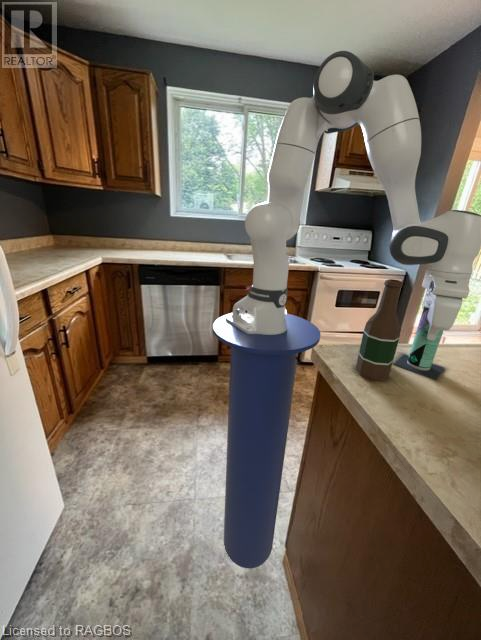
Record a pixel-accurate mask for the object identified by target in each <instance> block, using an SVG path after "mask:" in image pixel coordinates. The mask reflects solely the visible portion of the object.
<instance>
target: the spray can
mask: <svg viewBox="0 0 481 640" xmlns="http://www.w3.org/2000/svg"><path fill="white" fill-rule="evenodd" d="M431 303H432V300H430V301H426V304H425V305H424V309H423V308H422V312H421V316H420V319H419V322H418V325H417V328H416V331H415V335H414V338H413V341H412V344H411V348H410V351H409V354H408V356H409V357H408V360H407V364H408V365H410V366H411V367H413V368H415V369H419V370H424V371H427V370H430V368H431V365H432V364H433V362H434V359H435V357H436V353H437V351H438V348H439V346H440V345H439V344H440V342H441V339H442V336H443V333H444V331H445V330H440V331H439V333H438V334H437V336H436V339H435V340H434V341H432V340H428V339H427V337H426V335H427V332H428V331H429V328H430V323H429V321H428V319H427V315H428V312H429V309H430V305H431Z"/></svg>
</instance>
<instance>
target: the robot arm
mask: <svg viewBox="0 0 481 640" xmlns="http://www.w3.org/2000/svg"><path fill="white" fill-rule="evenodd" d="M312 87H313V88H312V94H313V96H311V97H299V98H296V99H294V100H292V101H290V103H289V105H288V106H287V109H286V110H285V113H284V116H283V118H282V121H281V123H280V127H279V129H278V132H277V136H276V139H275V144H274V147H273V151H272V156H271V159H270V163H269V168H268V172H267V183H268V197H267V201H264V202H261V203H258V204H255V205H253V206H252V207H251V208H250V209H249V210H248V211H247V213H246V215H245V218H244V228H245V231H246V234H247V235H248V237H249V240H250V245H251V251H252V258H253V269H252V271H253V272H252V284H251V285H248V286H247V287H246V289H245V291H248V292H247V295H246V296H243V298H241V299H240V300H238V301H237V302H235V303H234V305H233V307H232V312H231V313H232V314H230V315H228V316H227V317H226V319H225V320H226V321H228V322H229V323H231V324H232V325H234V326H235V327H237V328H239V329H240V330H242V331H243V332H245V333H247V334H263V335H276V334H281V333H284V332H285V331H286V330H287V325H286V317H285V314H288V312H287V309H286V304H287V300H288V291H289V290H288V289H289V288H288V279H289V278H288V277H289V268H290V262H289V259H288V253H287V252H288V251H287V241H289V240H290V239H292V238H293V237H294V236H296V234H297V233H298V231H299V230H300V226H301V216H302V210H303V203H304V196H305V190H306V186H307V182H308V179H309V175H310V171H311V168H312V165H313V162H314V159H315V155H316V152H317V150H318V149H317V148H318V144H319V142H320V139H321V137H322V135H323V134H326V135H328V134H333V133H341V132H347V131H349V130H352V129H354V128H355V127H357V126H358V125H359V126H360V127H361V131H362V133H363V139H364V144H365V150H366V153H367V157H368V160H369V163H370V165H371V168H372V170H373V172H374V174H375V176H376V178H377V180H378V181H379V184H381V186H382V188H383V190H384V192H385V195H386V199H387V201H388V202H387V203H388V207H389V212H390V217H391V224H392V231H391V232H392V233H391V236H390V239H389V244H388V248H389V252H390V255H391V258H392V259H393V260H394V261H395V262H397V263H398V264H400V265H403V266H409V267H410V266H418V265H419V266H420V265H427V266H426V269H425V273H424V276H423V279H422V283H421V287H422V288H424V289H425V290H426V291H425V294H424V297H423V301H422V304H421V307H422V310H423V309H424V305H425V304H426V301H430V300H432V303H431V305H430V309H429V312H428V315H427V319H428V321H429V323H430V328H429V331H428V332H427V335H426V337H427V339H428V340H432V341H434V340H435V339H436V336H437V334H438V333H439V331H440V330H444V331H447V332H448V331H450V330H451V329H452V327H453V326H454V324H455V322H456V320H457V317H458V315H459V312H460V310H461V308H462V306H463V305H462V304H463V300H465V299H468V297H469V294H470V286H469V285H470V279H471V277H472V274H473V266H474V262H475V259H476V258H477V257H478V255H479V253H480V252H481V251H480V250H481V214H479V213H477V212H473V211H468V210H459V209H450V210H447V211H445V212H444V213H442V214H440V215H438V216H436V217H433V218H431V219H427V220H424V221H422V220H421V218H420V212H419V206H418V205H419V204H418V200H417V194H416V178H417V171H418V167H419V163H420V159H421V155H422V126H421V122H420V115H419V110H418V106H417V103H416V99H415V96H414V93H413V91H412V88H411V86H410V83H409V81H408V79H407V78H406V77H405V76H403V75H401V74H390V75H388V76H385V77H382V78H381V79H379V80H375V73H374V71H373V69H371V68H370V67H369V66H368V65H367V64H365V62H363V61H362V60H361V59H360V57H358V56H357V55H356V54H354V53H352V52H351V51H349V50H348V51H347V50H339V51H336V52H334V53H332V54H330V55H329V56H327V57H326V58H325V59H324V60H323V61H322V62H321V64H320V65H319V67H318V68H317V71H316V73H315V76H314V80H313V85H312Z"/></svg>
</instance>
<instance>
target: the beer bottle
mask: <svg viewBox="0 0 481 640" xmlns="http://www.w3.org/2000/svg"><path fill="white" fill-rule="evenodd" d="M383 284H384V288H383V291H382V295H381V298H380V301H379V305H378V307H377V310H376V312H375V313H373V314H372V315H371V316H370V317H369V319H368V320H367V321H366V323H365V326H364V329H363V332H362V336H361V337H362V338H361V341H360V346H359V351H358V355H357V359H356V364H355V365H356V366H355V370H356V371H357V372H358V374H359V376H360V377H361V376H362V377H364V378H366V379H368V380H371V381H380V382H381V381H384V380H386V379H387V378H388V377H389V376H390V373H391V370H392V366H393V364H394V363H393V362H394V359H395V355H396V351H397V348H398V344H399V341H400V336H401V331H402V328H401V323H400V320H399V318H398V315H397V314H398V313H397V312H398V306H399V299H400V294H401V289H402V287H404V282H403V281H401V280H400V279H394V278H393V279H392V278H390V279H385V281H384V283H383Z"/></svg>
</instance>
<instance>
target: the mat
mask: <svg viewBox="0 0 481 640" xmlns="http://www.w3.org/2000/svg"><path fill="white" fill-rule="evenodd" d="M408 357H409V354H405V353H403V354H402V355H401V356H400V357H399V358H398V359H397V360H395V362H394V363H393V366H397V367H400V368H402V369H405V370H407V371H411V372H414V373H416V374H418V375H422V376H425V377H427V378H429V379H432V380H435V381H436V380H437V379H438V378H439V376H441V374H442V372H443V371H444V369H445V367H443V366H441V365H438V364H435V363H432V365H431V368H430V370H427V371H424V370H419V369H415V368H413V367H411V366H410V365H408V364H407V360H408Z"/></svg>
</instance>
